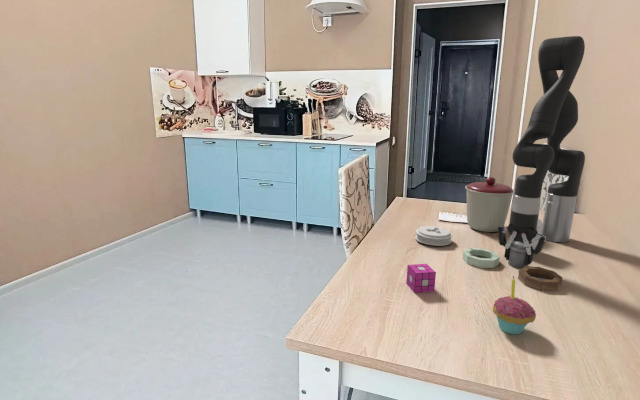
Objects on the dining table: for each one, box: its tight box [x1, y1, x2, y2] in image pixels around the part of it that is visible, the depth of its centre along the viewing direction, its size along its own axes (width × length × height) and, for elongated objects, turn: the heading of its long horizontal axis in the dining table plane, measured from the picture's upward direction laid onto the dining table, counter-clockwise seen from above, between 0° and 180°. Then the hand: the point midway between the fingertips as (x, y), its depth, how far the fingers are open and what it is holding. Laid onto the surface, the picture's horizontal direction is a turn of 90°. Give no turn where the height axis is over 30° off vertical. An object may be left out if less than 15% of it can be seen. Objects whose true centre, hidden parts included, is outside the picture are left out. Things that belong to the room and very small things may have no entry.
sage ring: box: [462, 247, 501, 269], centre depth 124 cm, size 10×10×2 cm
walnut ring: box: [517, 266, 563, 292], centre depth 110 cm, size 10×10×2 cm
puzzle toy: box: [405, 263, 437, 294], centre depth 105 cm, size 6×6×6 cm
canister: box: [464, 176, 515, 233], centre depth 154 cm, size 18×18×21 cm
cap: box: [507, 243, 527, 269], centre depth 121 cm, size 5×5×6 cm
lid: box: [415, 225, 453, 247], centre depth 141 cm, size 13×13×5 cm
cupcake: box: [492, 275, 537, 335], centre depth 86 cm, size 9×8×12 cm
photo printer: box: [514, 217, 543, 249], centre depth 130 cm, size 10×4×12 cm, turn 123°
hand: (517, 261), depth 121 cm, fingers closed on cap, 5 cm apart
